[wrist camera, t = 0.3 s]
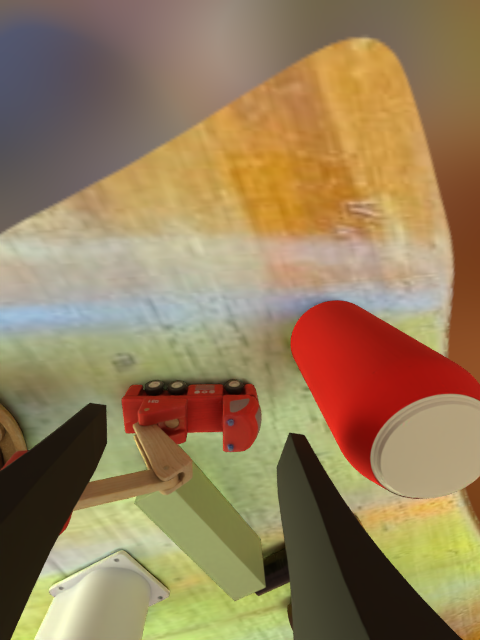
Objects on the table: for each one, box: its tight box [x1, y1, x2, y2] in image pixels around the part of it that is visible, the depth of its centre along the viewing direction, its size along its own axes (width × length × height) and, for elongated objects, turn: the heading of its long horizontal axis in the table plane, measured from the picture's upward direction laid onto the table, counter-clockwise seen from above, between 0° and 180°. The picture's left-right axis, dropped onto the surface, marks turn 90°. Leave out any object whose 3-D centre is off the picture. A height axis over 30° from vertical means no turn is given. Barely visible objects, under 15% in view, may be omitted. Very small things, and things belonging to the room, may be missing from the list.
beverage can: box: [291, 300, 480, 499], centre depth 16 cm, size 6×6×12 cm
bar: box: [134, 445, 266, 601], centre depth 24 cm, size 14×3×4 cm, turn 32°
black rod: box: [255, 516, 365, 596], centre depth 27 cm, size 12×2×2 cm, turn 122°
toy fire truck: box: [0, 380, 261, 535], centre depth 18 cm, size 3×14×10 cm, turn 89°
